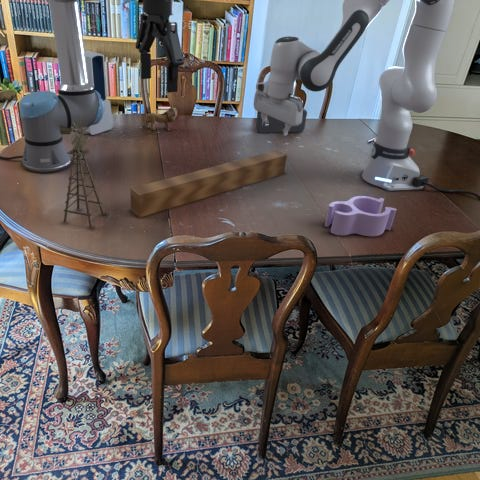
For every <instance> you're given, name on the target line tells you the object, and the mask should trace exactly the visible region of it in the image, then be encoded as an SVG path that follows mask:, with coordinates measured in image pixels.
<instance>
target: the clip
mask: <svg viewBox="0 0 480 480" xmlns="http://www.w3.org/2000/svg"><path fill="white" fill-rule="evenodd" d="M384 201H385V198H383V197H379V198H376V197H373V196H368V195H357V196H352V197H350V198H349V200H347V201H339V200H338V201H337V200H335V201H332V202H330V203H329V205H328V208H327V214H326V218H325V222H324V227H326V228H329V227H330V226H331V227H330V233H331V234H333V235H336V236H348V235H353V234H356V235H360V236H364V237H365V236H366V237H378V236H381V235H382V234H384V232H385V230H387V231H391V229H392V226H393V222H394V219H395V216H396V213H397V210H398V209H397V208H395V207H391V206H385V207H384V211H383V212H382V209H383V206H384Z"/></svg>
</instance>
